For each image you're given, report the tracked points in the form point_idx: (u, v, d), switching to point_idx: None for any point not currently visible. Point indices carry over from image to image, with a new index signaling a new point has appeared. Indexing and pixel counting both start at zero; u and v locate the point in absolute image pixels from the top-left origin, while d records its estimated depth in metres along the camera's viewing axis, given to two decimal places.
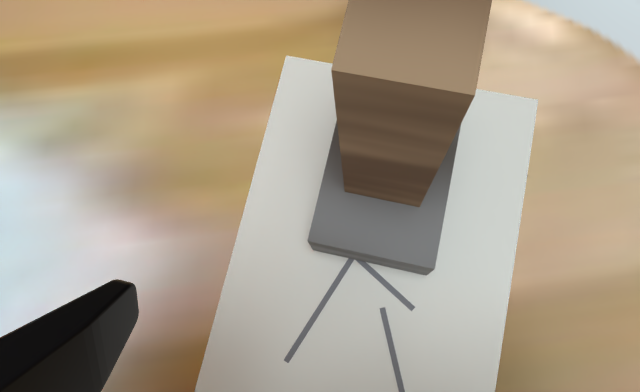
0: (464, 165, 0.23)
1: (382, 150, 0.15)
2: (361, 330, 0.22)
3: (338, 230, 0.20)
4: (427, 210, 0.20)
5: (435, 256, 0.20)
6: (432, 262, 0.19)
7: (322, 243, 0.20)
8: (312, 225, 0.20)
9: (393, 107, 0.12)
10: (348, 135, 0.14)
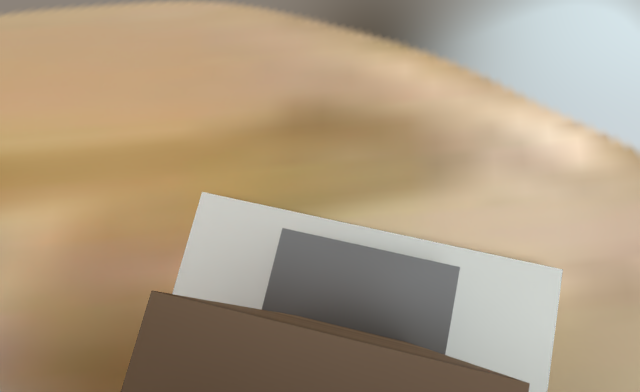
0: None
1: None
2: None
3: None
4: None
5: None
6: None
7: None
8: None
9: None
10: None
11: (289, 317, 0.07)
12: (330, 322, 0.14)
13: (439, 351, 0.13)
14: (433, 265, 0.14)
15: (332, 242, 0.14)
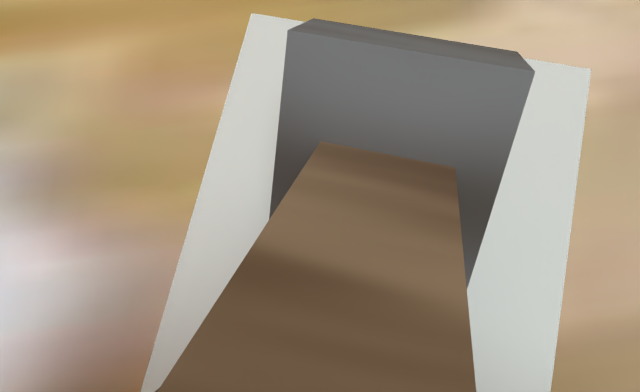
0: None
1: None
2: None
3: None
4: None
5: None
6: None
7: None
8: None
9: None
10: None
11: (259, 341, 0.05)
12: (360, 147, 0.11)
13: (494, 176, 0.11)
14: (497, 70, 0.10)
15: (357, 46, 0.10)
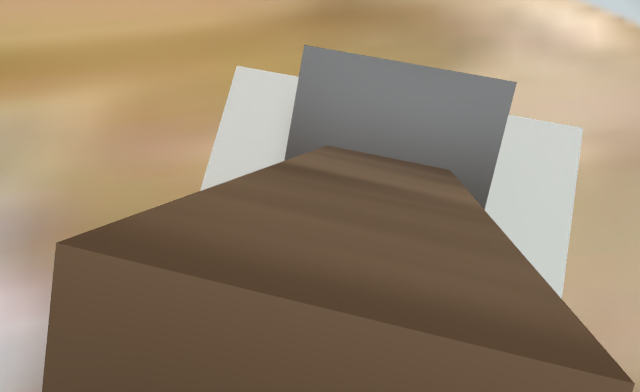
0: None
1: None
2: None
3: None
4: None
5: None
6: None
7: None
8: None
9: None
10: None
11: (302, 185, 0.06)
12: (364, 151, 0.12)
13: (485, 178, 0.12)
14: (484, 81, 0.12)
15: (364, 59, 0.12)
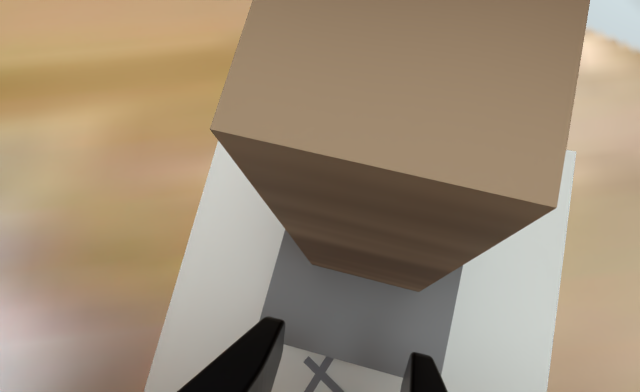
0: None
1: (355, 243, 0.09)
2: None
3: (300, 323, 0.14)
4: (430, 297, 0.14)
5: (440, 368, 0.13)
6: None
7: None
8: (263, 313, 0.14)
9: (363, 200, 0.06)
10: (293, 220, 0.08)
11: None
12: None
13: None
14: None
15: None
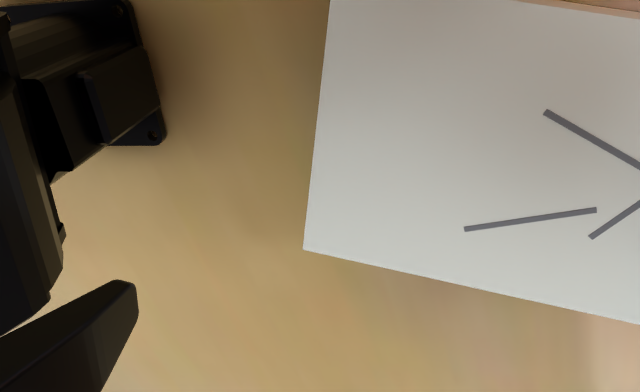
0: None
1: None
2: (572, 189, 0.19)
3: None
4: None
5: None
6: None
7: None
8: None
9: None
10: None
11: None
12: None
13: None
14: None
15: None
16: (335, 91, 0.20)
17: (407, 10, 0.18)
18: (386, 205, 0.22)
